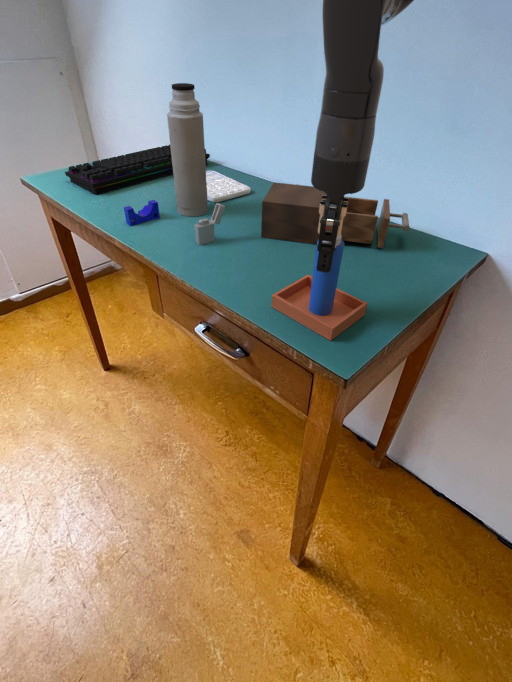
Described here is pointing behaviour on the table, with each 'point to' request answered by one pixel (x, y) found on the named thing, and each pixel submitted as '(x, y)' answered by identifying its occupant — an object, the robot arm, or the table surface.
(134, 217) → the cable holder
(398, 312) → the table surface
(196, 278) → the table surface
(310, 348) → the table surface
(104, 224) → the table surface
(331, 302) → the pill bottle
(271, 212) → the cabinet
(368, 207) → the drawer
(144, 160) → the keyboard
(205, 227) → the lighter
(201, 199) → the thermos bottle
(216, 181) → the calculator
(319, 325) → the tray
